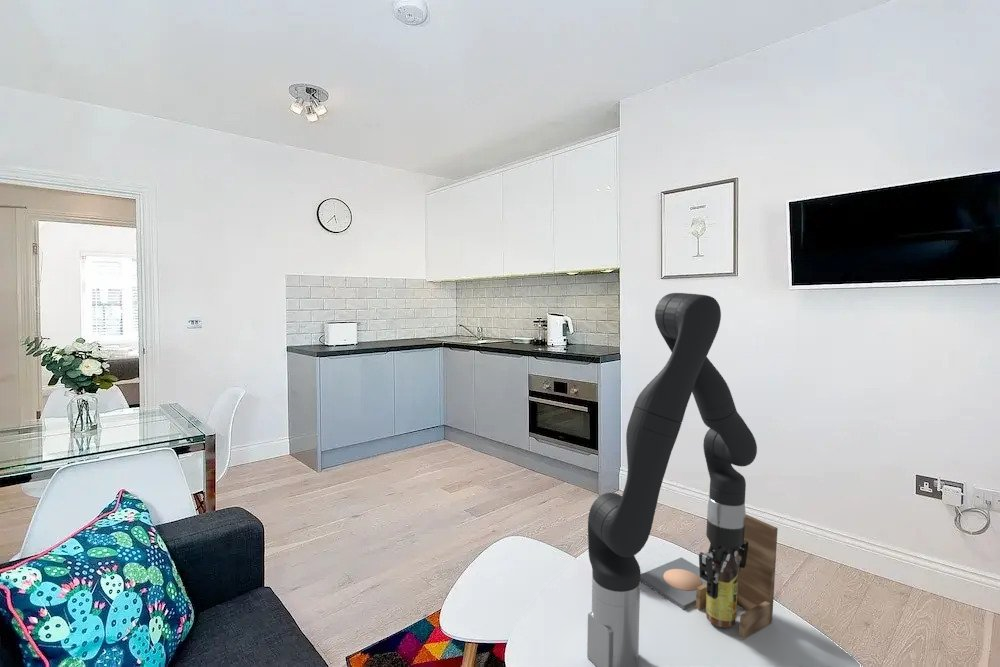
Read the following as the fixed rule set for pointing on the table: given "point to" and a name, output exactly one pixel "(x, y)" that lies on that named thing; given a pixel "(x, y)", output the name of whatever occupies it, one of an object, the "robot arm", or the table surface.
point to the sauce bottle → (724, 596)
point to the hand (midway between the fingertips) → (722, 591)
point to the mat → (675, 581)
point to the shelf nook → (753, 578)
